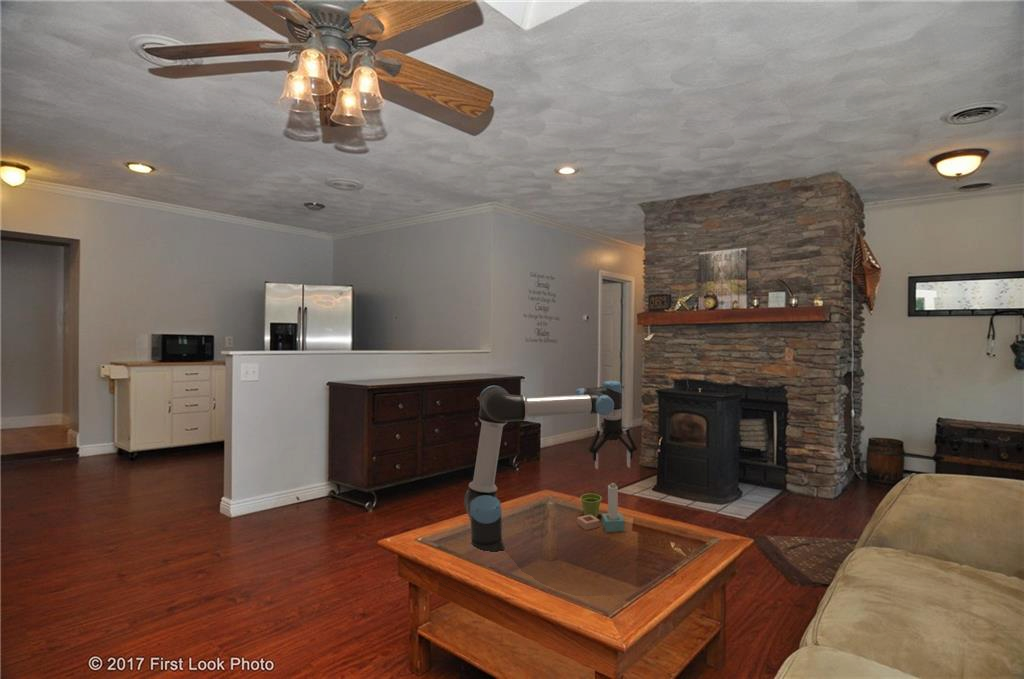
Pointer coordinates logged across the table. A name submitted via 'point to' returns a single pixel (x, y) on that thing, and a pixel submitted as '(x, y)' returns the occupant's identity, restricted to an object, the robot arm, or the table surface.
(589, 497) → the plant pot
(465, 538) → the table surface
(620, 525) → the teal square hollow block
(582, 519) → the beige square hollow block
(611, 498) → the light grey post
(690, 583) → the table surface
